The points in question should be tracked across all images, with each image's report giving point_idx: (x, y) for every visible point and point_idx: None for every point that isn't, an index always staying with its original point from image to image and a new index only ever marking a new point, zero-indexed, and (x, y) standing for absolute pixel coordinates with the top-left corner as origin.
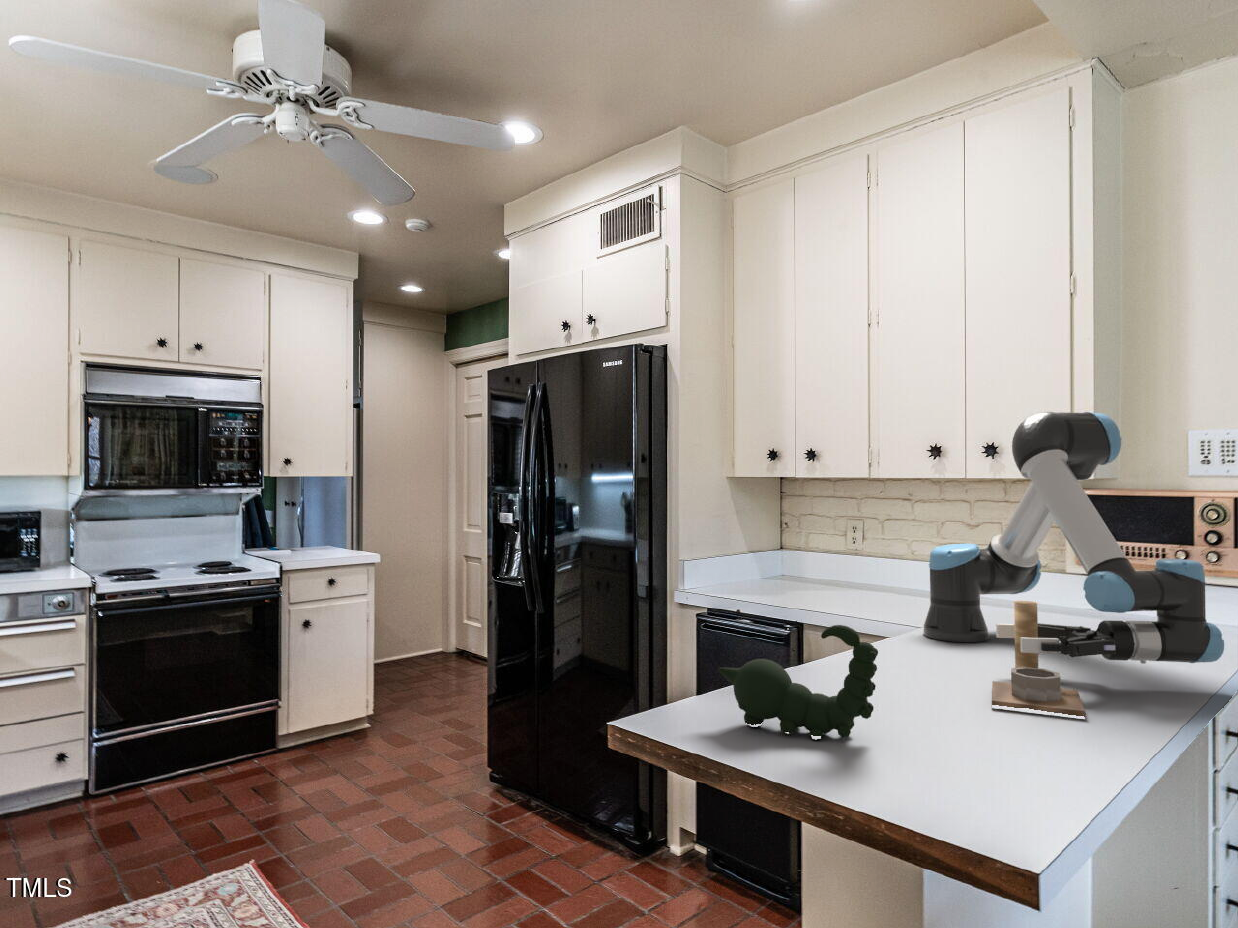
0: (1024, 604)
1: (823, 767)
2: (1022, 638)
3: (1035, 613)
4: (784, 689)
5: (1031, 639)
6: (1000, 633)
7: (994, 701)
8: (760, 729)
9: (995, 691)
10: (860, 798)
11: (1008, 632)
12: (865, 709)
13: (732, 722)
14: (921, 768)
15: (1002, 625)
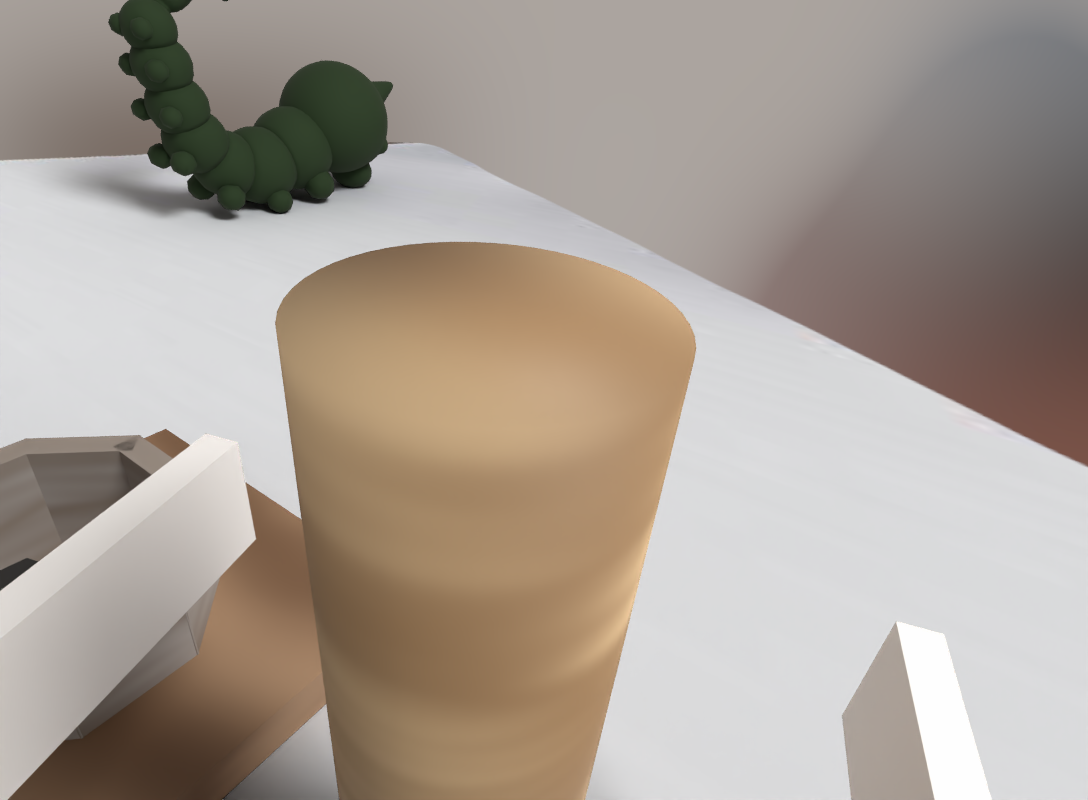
0: (366, 262)
1: (139, 178)
2: (203, 439)
3: (298, 492)
4: (279, 106)
5: (143, 490)
6: (861, 714)
7: (155, 436)
8: (334, 185)
9: (251, 502)
10: (17, 169)
11: (881, 795)
12: (153, 145)
13: (382, 180)
14: (16, 220)
15: (903, 677)
